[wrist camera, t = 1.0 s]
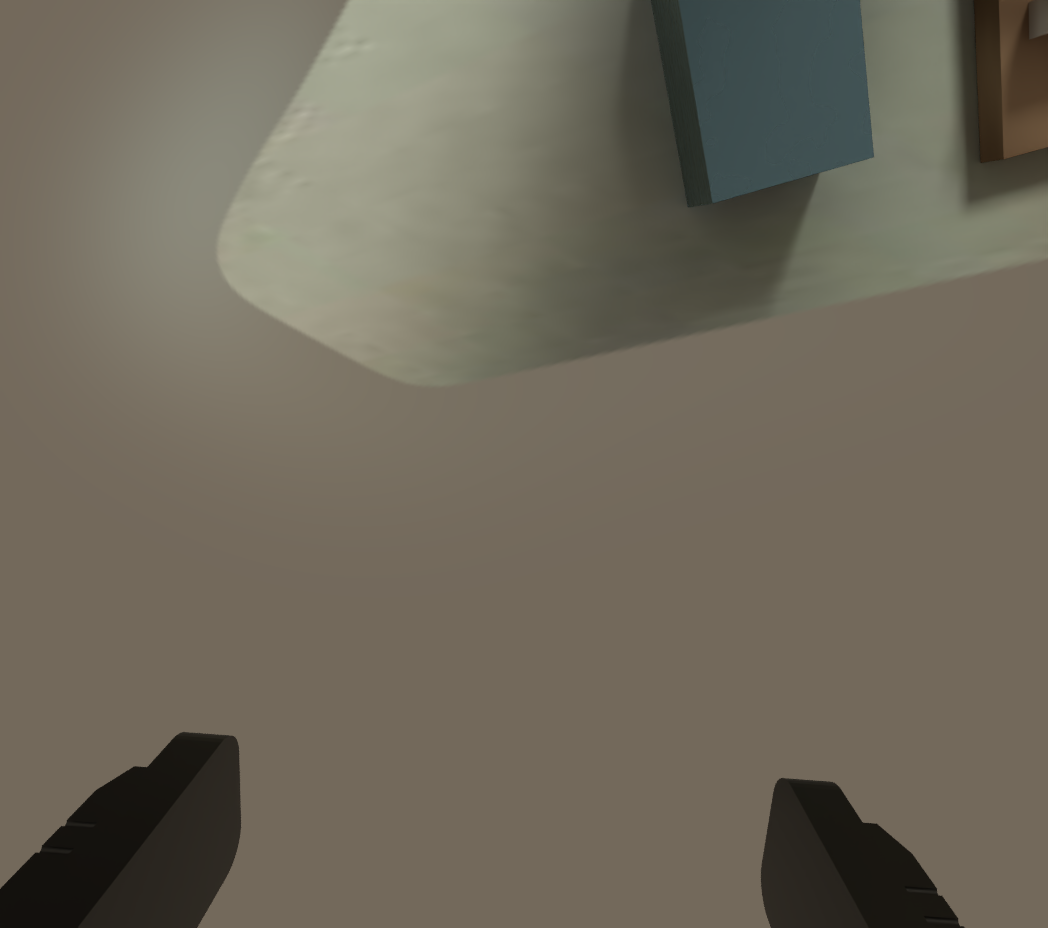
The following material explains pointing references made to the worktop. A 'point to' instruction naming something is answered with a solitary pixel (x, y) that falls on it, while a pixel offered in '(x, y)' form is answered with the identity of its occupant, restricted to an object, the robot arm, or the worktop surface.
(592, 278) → the worktop surface
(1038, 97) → the rail stand
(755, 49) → the block
